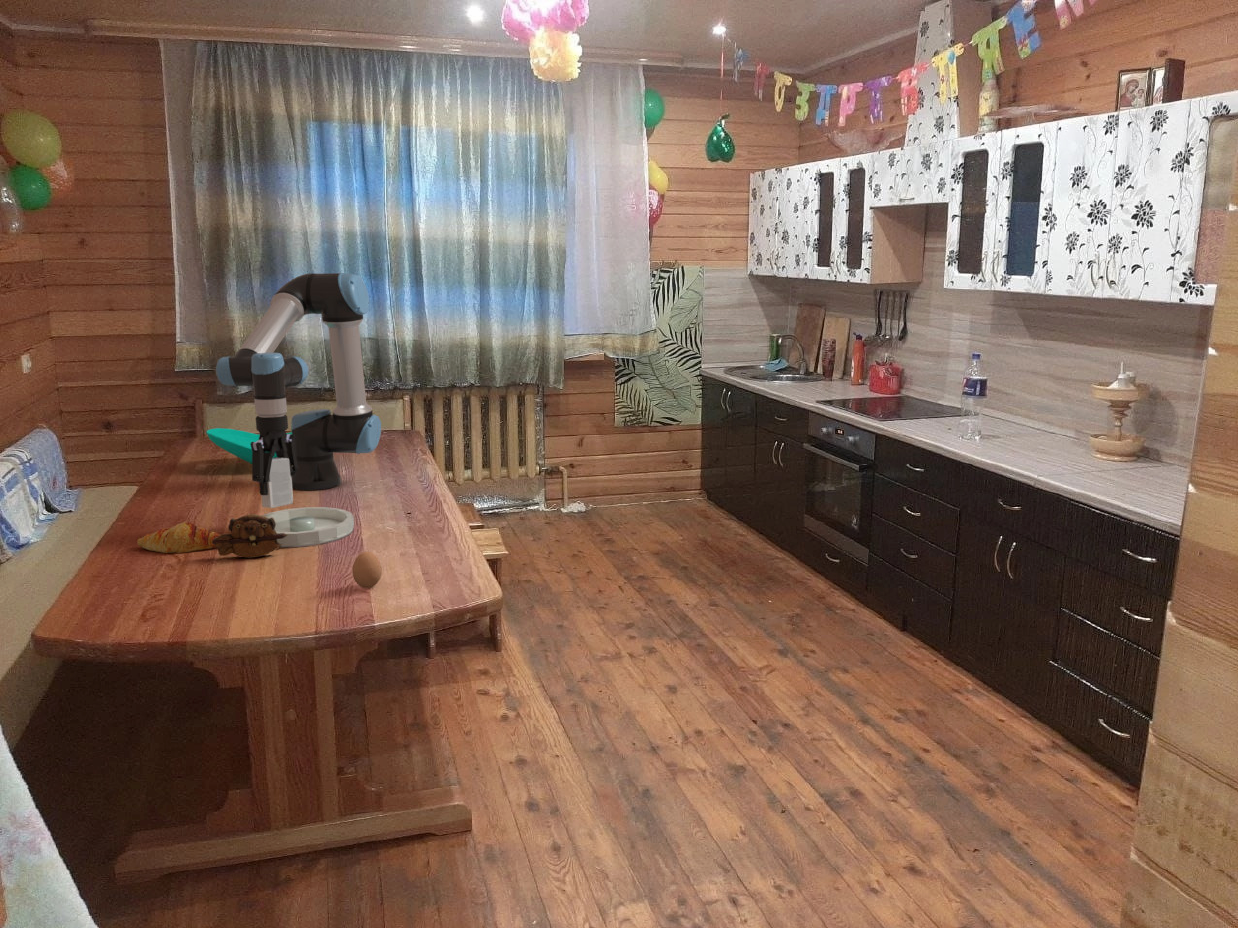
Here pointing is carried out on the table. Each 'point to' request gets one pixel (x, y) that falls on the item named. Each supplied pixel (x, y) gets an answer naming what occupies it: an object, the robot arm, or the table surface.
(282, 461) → the skincare box
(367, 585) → the egg
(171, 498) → the table surface
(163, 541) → the croissant
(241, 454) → the table top decor
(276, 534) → the wooden carving
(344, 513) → the ring tray
